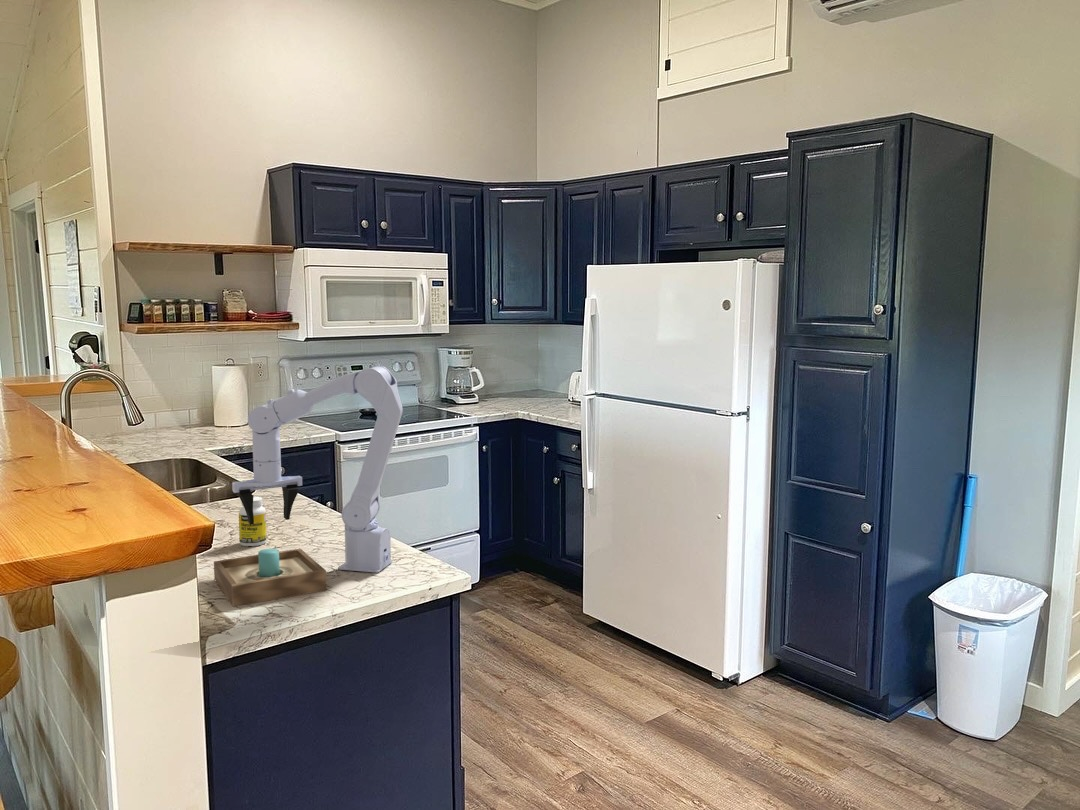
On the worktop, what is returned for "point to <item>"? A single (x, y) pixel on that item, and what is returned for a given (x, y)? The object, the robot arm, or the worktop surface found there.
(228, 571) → the walnut box
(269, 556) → the peg
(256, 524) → the pill bottle
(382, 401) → the robot arm
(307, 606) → the worktop surface
